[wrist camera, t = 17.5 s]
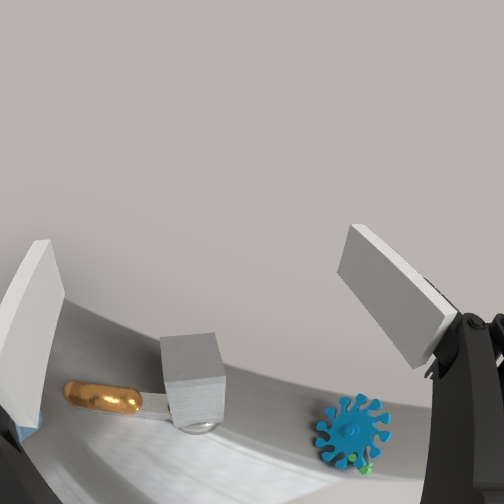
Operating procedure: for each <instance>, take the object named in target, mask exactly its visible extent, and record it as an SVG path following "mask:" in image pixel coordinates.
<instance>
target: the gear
mask: <svg viewBox="0 0 504 504" xmlns="http://www.w3.org/2000/svg"><path fill="white" fill-rule="evenodd" d="M367 400H368V398H367V397H366V396H364V395H362V394H358V395H357V397H356V402H355V405H354V406H353V408H352V409H351V410H350V411H347V407H348V406H349V405H350V403H351V399H350V398H349V397H342V398H340V400H339V402H340V404H341V413H340V416H339V417H338V418H336V417H335V415H336V412H337V410H336V408H335V407H333V406H331V407H329V408H327V409H326V410H325V414H326V415H328V416H329V417H330V418H331V420H332V427H331V428H330V429H328V425H327V423H326V422H323V421H320V422H319V423H318V425H317V427H316V429H317V430H320V431H326V432H327V433H328V434H329V435H330V437H331V438H330V440H329V441H326V440H325V439H323V438H317V439H316V447H320V448H322V447H324V446H327V445H333V446H334V447H335V450H334V452H332V453H330V452H324V453H323V454H322V457H323V459H324V461H325V462H330V461H331V460H332V459H333V458H334V457H335V456H336V455H338V454H340V453H343V452H344V453H345V457H344V458H343V459H341V460H338V461H337V462H336V463H335V466H336V467H338V468H340V469H346V468H347V465H348V461H351V462H353V467H357V469H359V470H360V473H361V474H369V473H370V472H371V466H372V465H373V463H372V462H370V458H369V454H368V449H367V446H370V447H371V451H370V457H371V458H377V457H378V456H380V455H381V454H382V451H381V450H380V449H379V448H377V447H376V446H375V444H374V441H373V437H374V435H376V434H379V437H380V440H381V441H383V442H387V441H388V440H389V439H390V437H391V433H390V432H388V431H379V430H378V429H377V428H375V423H376V422H377V421H381V422H382V423H384V424H388V423H390V414H389V413H383V414H382V415H380V416H377V417H370V416H369V413H370V411H371V410H379V409H381V408H382V404H381V402H380V401H379V400H378V399H374V400H373V401H372V403H371V404H370V405H369V406H368V407H367V408H366V409H364V410H361V411H359V406H360V405H362V404H364V403H366V402H367Z"/></svg>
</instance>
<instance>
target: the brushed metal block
mask: <svg viewBox="0 0 504 504" xmlns="http://www.w3.org/2000/svg"><path fill="white" fill-rule="evenodd" d="M160 345H161V356H162V367H163V377H164V384H165V389H166V394H167V398H168V402H169V407H170V411H171V415H172V419H173V423H174V427H175V428H177V427H187V426H196V425H204V424H212V423H219V422H223V419H224V402H225V385H226V374H225V370H224V366H223V363H222V359H221V355H220V352H219V348H218V344H217V340H216V337H215V333H205V334H194V335H183V336H171V337H160Z"/></svg>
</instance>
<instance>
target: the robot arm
mask: <svg viewBox="0 0 504 504" xmlns="http://www.w3.org/2000/svg"><path fill="white" fill-rule="evenodd" d="M337 273H338V275H339V276H340V277H341V278H342V279H343V281H344V282H345V283H346V284H347V285H348V287H349V288H350V289H351V290H352V291H353V293H354V294H355V295H356V297H357V298H358V299H359V300H360V301H361V303H362V304H363V305H364V306H365V308H366V309H367V310H368V311H369V313H370V314H371V315H372V316H373V318H374V319H375V320H376V322H377V323H378V324H379V325H380V327H381V328H382V329H383V331H384V332H385V333H386V334H387V336H388V337H389V338H390V340H391V341H392V342H393V344H394V345H395V346H396V348H397V349H398V350H399V351H400V353H401V354H402V355H403V357H404V358H405V359H406V361H407V362H408V363H409V365H410V366H411V367H412V369H415V368H417V367H419V366H422V365H424V364H426V362H427V361H428V359H429V358H430V356H431V355H432V353H433V354H434V355H435V357H436V359H435V360H434V362H433V363H432V365H431V366H430V368H429V369H428V371H427V372H426V373H425V377H424V378H427V376H428V375H429V374H430V372H433V374H432V376H431V377H430V379H432V380H433V395H432V417H431V431H430V442H429V452H428V460H427V467H426V474H425V480H424V486H423V492H422V497H421V502H420V504H504V360H503V361H502V363H501V364H500V365H499V367H497V365H496V361H497V359H498V358H499V357H500V355H501V354H502V355H503V357H504V314H501V313H500V314H497V315H496V316H495V318H494V319H493V321H492V323H485V322H484V321H483V320H482V319H481V318H480V317H479V316H477V315H475V314H473V313H465V314H464V315H462V314H461V313H460V312H459V311H458V310H457V309H456V308H455V307H454V306H453V304H451V302H450V301H449V300H447V299H446V298H445V296H443V295H442V294H440V292H439V291H438V290H437V289H436V288H434V286H433V285H432V284H431V283H430V282H429V281H428V280H427V279H425V278H424V277H422V276H421V275H420V274H419V273H418V272H417V271H415V270H414V269H413V268H412V267H411V266H410V265H409V264H408V263H407V262H406V261H405V260H404V259H402V258H401V257H400V256H399V255H398V254H397V253H396V252H395V251H393V250H392V249H391V248H390V247H389V246H388V245H387V244H385V243H384V242H383V241H382V240H381V239H380V238H379V237H377V236H376V235H375V234H374V233H373V232H372V231H370V230H369V229H368V228H367V227H366V226H364V225H363V224H351V225H350V228H349V232H348V235H347V239H346V243H345V247H344V250H343V254H342V258H341V261H340V264H339V268H338V271H337ZM64 296H65V292H64V289H63V285H62V282H61V278H60V275H59V271H58V268H57V264H56V260H55V256H54V253H53V248H52V244H51V240H50V239H48V240H36V241H35V242H34V243H33V245H32V246H31V248H30V250H29V251H28V253H27V255H26V256H25V258H24V260H23V262H22V263H21V265H20V267H19V269H18V271H17V273H16V275H15V276H14V278H13V280H12V282H11V284H10V286H9V288H8V290H7V292H6V294H5V296H4V298H3V300H2V302H1V304H0V504H63V503H62V502H61V501H60V500H59V498H58V497H57V496H56V495H55V493H54V492H53V491H52V490H51V488H50V487H49V486H48V484H47V483H46V482H45V480H44V479H43V478H42V476H41V475H40V473H39V472H38V470H37V469H36V468H35V466H34V465H33V463H32V462H31V460H30V459H29V457H28V456H27V454H26V452H25V451H24V449H23V448H22V446H21V443H22V442H23V440H24V439H25V438H27V437H28V436H30V435H31V434H33V433H34V432H36V431H37V430H39V428H40V427H41V425H42V421H43V416H42V412H41V410H40V404H41V397H42V391H43V385H44V379H45V374H46V369H47V364H48V359H49V354H50V350H51V345H52V341H53V337H54V333H55V329H56V325H57V321H58V317H59V314H60V310H61V307H62V303H63V300H64Z"/></svg>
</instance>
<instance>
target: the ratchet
mask: <svg viewBox="0 0 504 504" xmlns="http://www.w3.org/2000/svg"><path fill="white" fill-rule="evenodd" d="M63 394H64V397H65V399H66V401H67V402H68V403H69V404H71V405H73V406H76V407H77V409H80V410H86V411H91V412H97V413H104V414H111V415H118V416H126V417H135V418H144V419H156V420H170V421H172V423H173V419H172V415H171V411H170V407H169V402H168V398H167V394H158V393H145V392H138V391H137V390H135V389H133V388H125V387H116V386H108V385H100V384H93V383H87V382H80V381H70V382H68V383H67V384H66V385H65V386H64V389H63ZM219 423H220V422H219ZM219 423H212V424H204V425H196V426H187V427H177V428H178V429H179V430H181V431H183V432H185V433H188V434H193V435H200V434H205V433H208V432H210V431H212V430H213V429H215V428H216V427H217V426H218V425H219ZM173 424H174V423H173Z"/></svg>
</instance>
